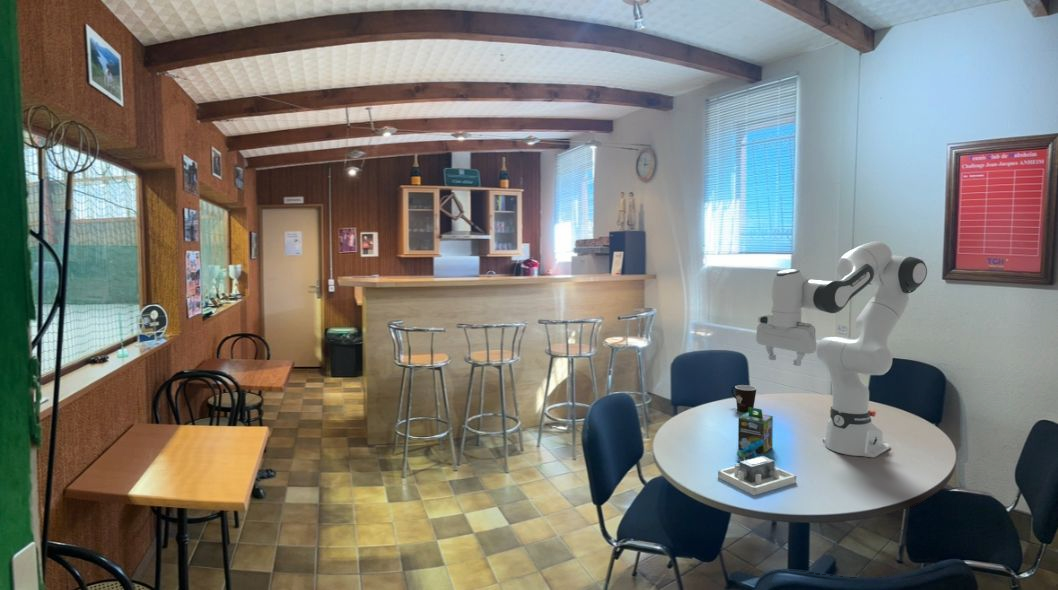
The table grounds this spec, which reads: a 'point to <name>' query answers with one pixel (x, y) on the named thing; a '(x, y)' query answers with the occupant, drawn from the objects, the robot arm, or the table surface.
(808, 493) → the table surface
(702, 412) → the table surface
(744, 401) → the coffee mug
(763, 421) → the chalk box
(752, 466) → the block
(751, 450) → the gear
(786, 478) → the holder tray
